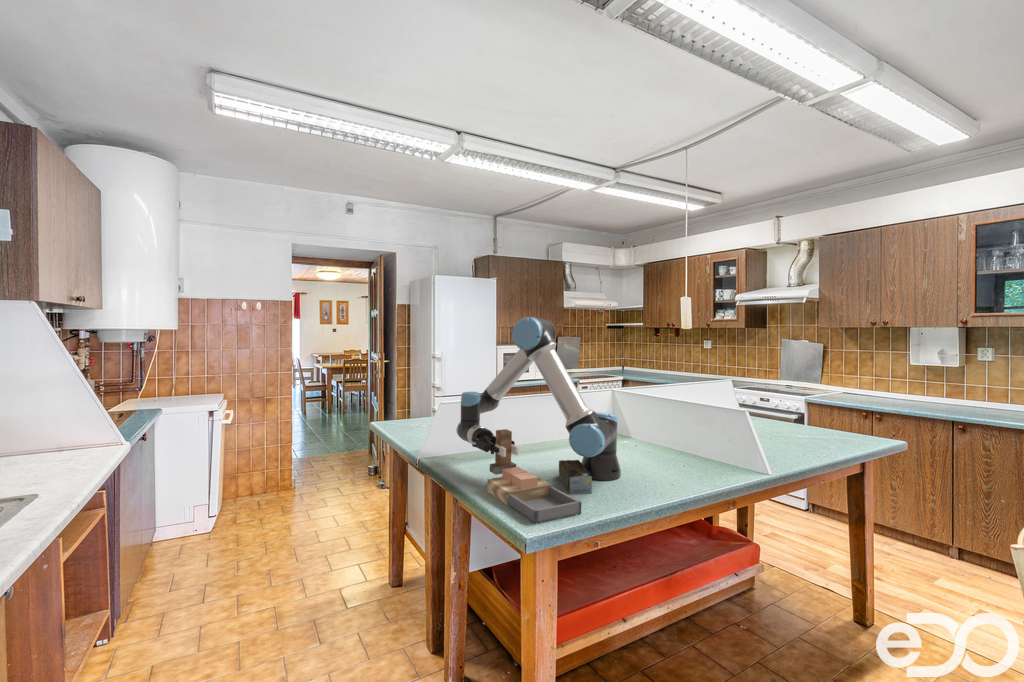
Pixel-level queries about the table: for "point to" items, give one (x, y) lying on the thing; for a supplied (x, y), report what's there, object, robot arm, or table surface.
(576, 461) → the beverage carton
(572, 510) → the tray
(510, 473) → the tile rear
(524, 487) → the tile front
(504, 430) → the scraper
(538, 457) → the table surface
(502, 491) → the board
